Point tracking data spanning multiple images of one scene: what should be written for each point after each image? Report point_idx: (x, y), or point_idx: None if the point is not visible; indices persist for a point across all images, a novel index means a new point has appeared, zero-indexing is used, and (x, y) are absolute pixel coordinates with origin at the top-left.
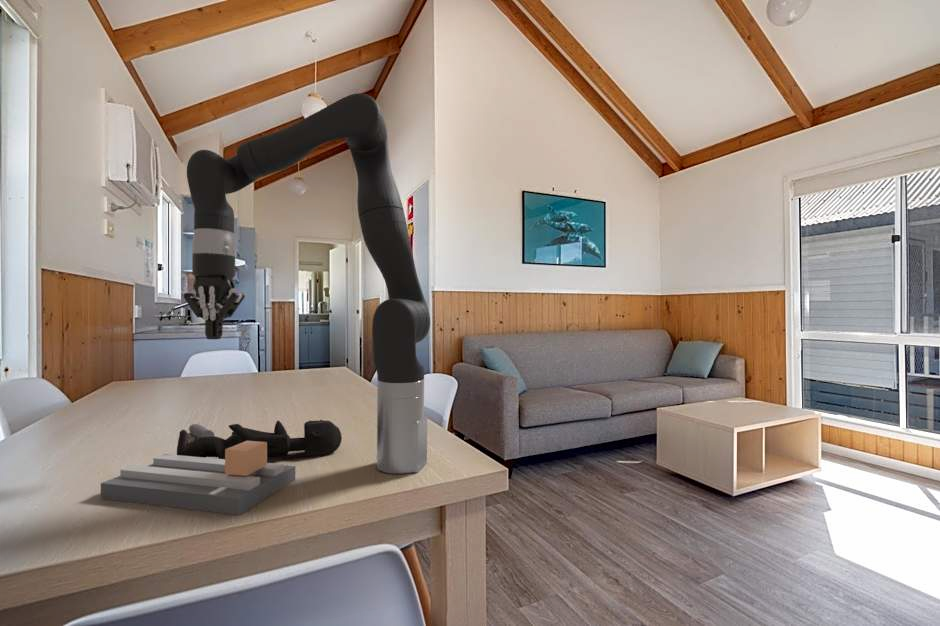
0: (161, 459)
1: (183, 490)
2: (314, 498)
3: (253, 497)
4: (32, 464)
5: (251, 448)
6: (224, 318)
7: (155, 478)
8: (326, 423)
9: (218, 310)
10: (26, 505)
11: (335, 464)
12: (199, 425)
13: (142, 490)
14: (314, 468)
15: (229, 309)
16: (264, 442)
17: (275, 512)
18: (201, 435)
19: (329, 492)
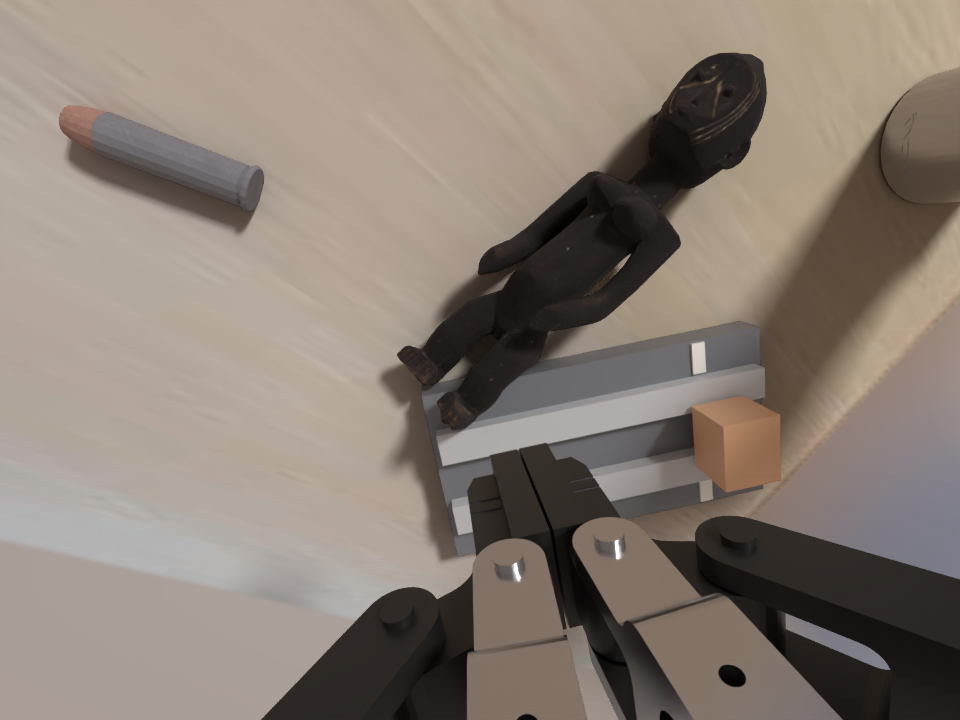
0: (467, 460)
1: (641, 510)
2: (827, 374)
3: None
4: (62, 515)
5: (778, 463)
6: (680, 552)
7: None
8: (755, 102)
9: (621, 640)
10: (369, 602)
11: (772, 198)
12: (128, 139)
13: None
14: (737, 245)
15: (811, 607)
16: (776, 419)
17: (794, 442)
18: (246, 207)
19: (841, 341)
